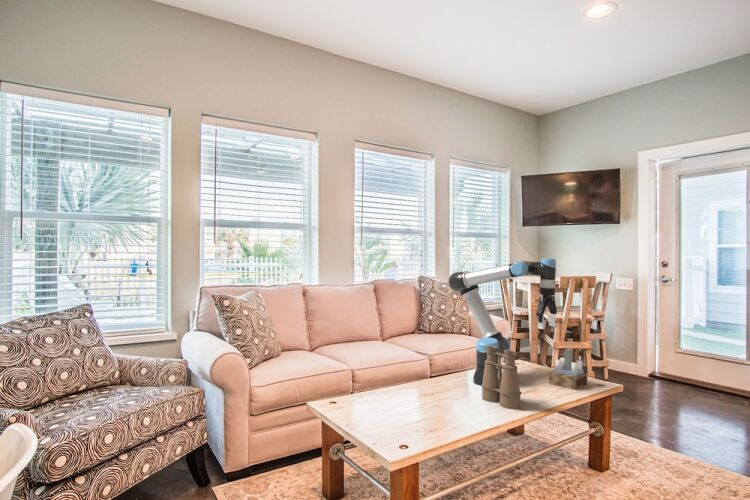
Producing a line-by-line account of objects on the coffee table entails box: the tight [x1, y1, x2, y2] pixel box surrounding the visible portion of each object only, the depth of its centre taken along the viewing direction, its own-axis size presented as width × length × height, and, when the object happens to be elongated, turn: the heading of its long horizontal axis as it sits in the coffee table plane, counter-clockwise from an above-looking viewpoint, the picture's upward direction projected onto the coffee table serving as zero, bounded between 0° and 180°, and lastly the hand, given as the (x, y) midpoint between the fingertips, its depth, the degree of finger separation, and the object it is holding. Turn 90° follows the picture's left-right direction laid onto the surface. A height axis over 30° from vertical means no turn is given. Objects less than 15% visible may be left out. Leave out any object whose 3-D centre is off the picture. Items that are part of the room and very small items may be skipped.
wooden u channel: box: [548, 365, 588, 391], centre depth 226 cm, size 14×15×10 cm
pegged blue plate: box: [553, 348, 584, 376], centre depth 227 cm, size 12×10×12 cm
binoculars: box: [480, 346, 522, 410], centre depth 197 cm, size 21×10×25 cm, turn 34°
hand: (546, 327), depth 222 cm, fingers open, 13 cm apart
